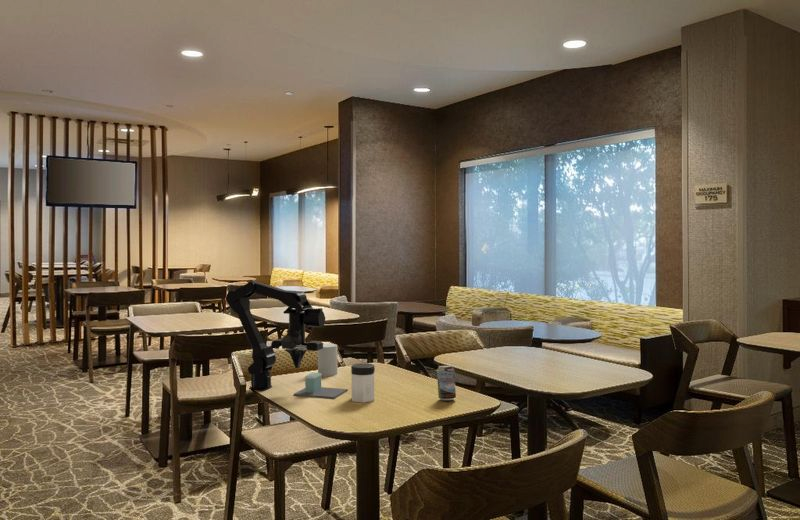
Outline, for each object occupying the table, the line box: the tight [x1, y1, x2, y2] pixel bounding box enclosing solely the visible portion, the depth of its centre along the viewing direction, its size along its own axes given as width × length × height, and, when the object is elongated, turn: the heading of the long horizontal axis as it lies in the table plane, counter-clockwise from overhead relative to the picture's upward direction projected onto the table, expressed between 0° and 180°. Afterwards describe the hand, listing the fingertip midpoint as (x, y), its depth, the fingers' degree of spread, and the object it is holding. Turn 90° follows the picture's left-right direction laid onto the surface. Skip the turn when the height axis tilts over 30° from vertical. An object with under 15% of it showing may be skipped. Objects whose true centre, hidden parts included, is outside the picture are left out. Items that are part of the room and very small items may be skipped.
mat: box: [293, 386, 349, 400], centre depth 221 cm, size 16×12×1 cm
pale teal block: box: [304, 372, 322, 393], centre depth 222 cm, size 4×6×6 cm, turn 162°
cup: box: [317, 343, 339, 377], centre depth 253 cm, size 8×8×12 cm
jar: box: [350, 362, 376, 404], centre depth 212 cm, size 9×8×12 cm
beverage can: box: [436, 365, 457, 401], centre depth 211 cm, size 6×7×12 cm
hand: (297, 367), depth 224 cm, fingers closed
